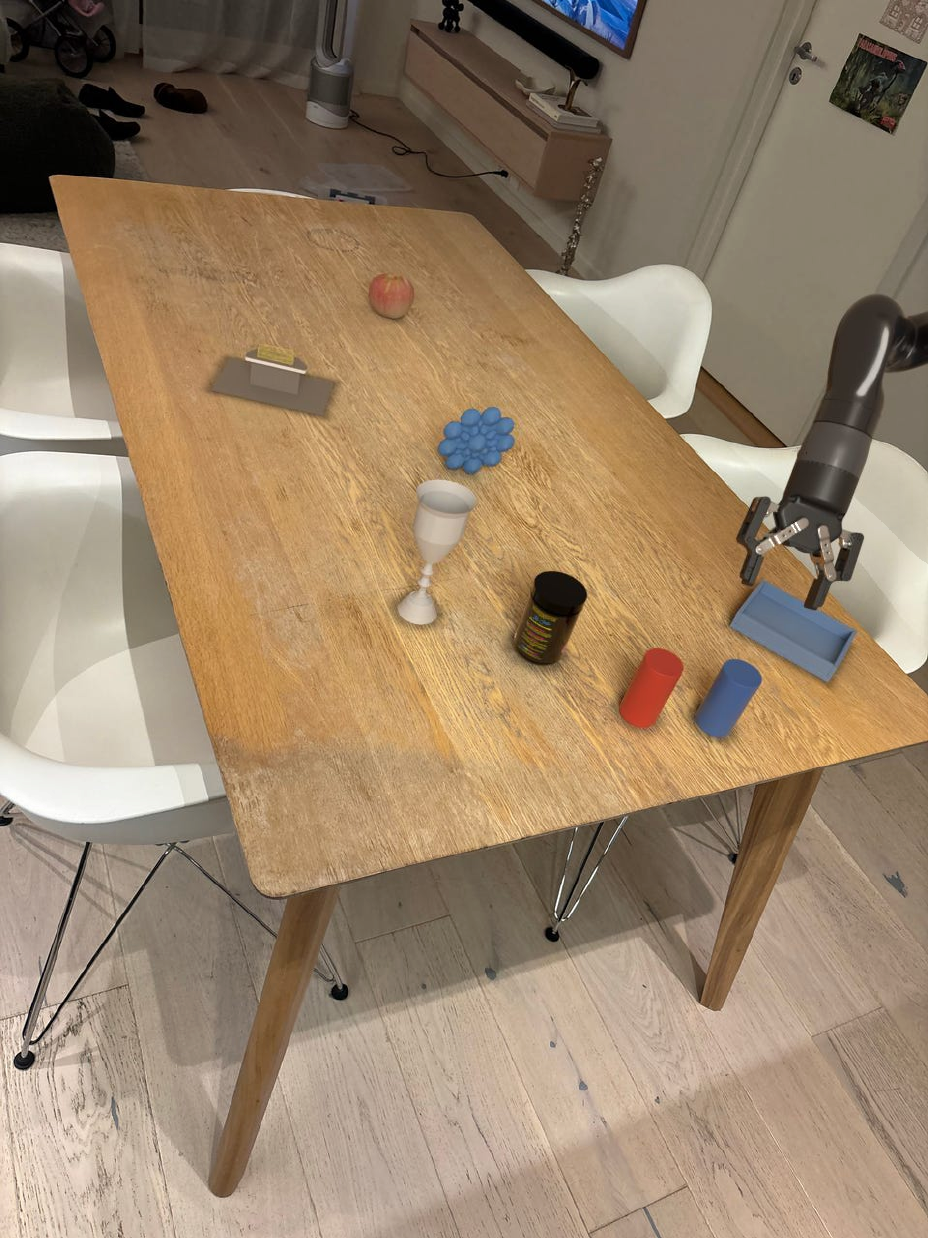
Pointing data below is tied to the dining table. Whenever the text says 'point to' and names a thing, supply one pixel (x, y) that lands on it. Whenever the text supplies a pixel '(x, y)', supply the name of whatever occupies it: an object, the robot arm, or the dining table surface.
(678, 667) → the red pin
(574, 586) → the supplement container
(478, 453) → the blue bubble cluster
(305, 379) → the platform
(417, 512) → the chalice
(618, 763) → the dining table surface
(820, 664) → the blue tray
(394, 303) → the apple
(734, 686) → the blue pin
